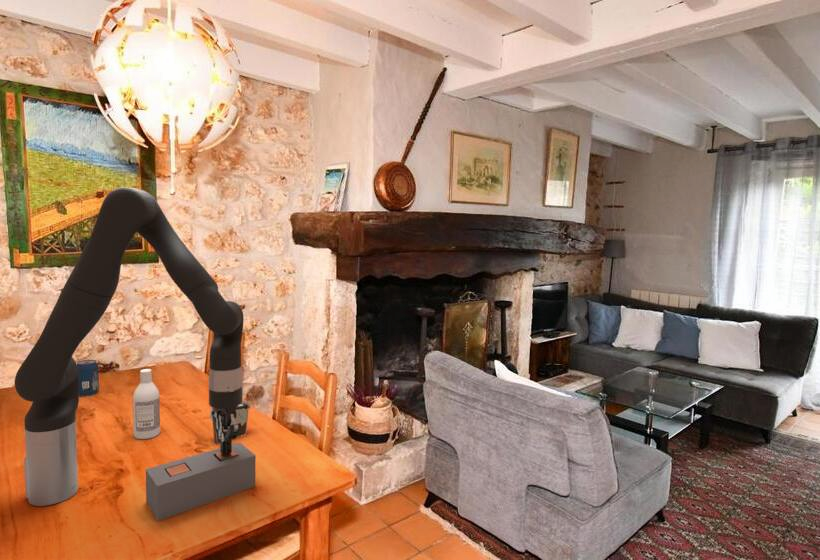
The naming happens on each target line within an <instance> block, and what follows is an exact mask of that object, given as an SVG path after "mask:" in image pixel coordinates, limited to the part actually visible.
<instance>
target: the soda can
mask: <svg viewBox="0 0 820 560" xmlns="http://www.w3.org/2000/svg"><path fill="white" fill-rule="evenodd" d="M76 364H77V366H78V371H79V397H91V396H95V395H96V394H97V393H98V392H99V390H100V382H99V381H100V377H99V374H100V373H99V364H98V362H97V360H96V359H83V360H79V361H77V362H76Z"/></svg>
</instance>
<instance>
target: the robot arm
mask: <svg viewBox="0 0 820 560" xmlns="http://www.w3.org/2000/svg"><path fill="white" fill-rule="evenodd" d="M136 233H137V234H138V235H140V237H142V238H143V239H144V240H145V241H146V243H148V244H149V245H150V246H151V248H153V250H154V251H155V253H156V255H157V256H158V257H159V259H160V261H161V262H162V265H163V267H164V268H165V271H166V272H167V274H168V275H169V277H170V278H171V280H172V281H173V282H174V284H175V286H177V287H178V289H180V291H181V292H182V293H183V294H184V295H185V296H186V298H187V299H188V300H189V301H190V302H191V303H192V305H193V307H194V309H195V311H196V313H197V314H198V316H199V317H200V319H201V321H202V322H203V324H204V325H205V326H206V327H207V328H208V329H209V330H210V331H211V332H213V341H212V344H211V346H210V348H209V373H208V404H209V406H210V407H211V409H212V408H215V409H216V410H213V411H211V410H210V412H211V414H212V418H213V421H212V423H213V422H214V426H215V430H216V433H217V434H219V439H220V444H219V445H220V447H219V448H220V453H221V454H222V455H224V456H225V455H228V454H231V452H232V445H233V443H232V441H233V440H237V436H238V433H239V431H240V429H241V423H238V424H237V422H236V419H237V412H236V407H237V406H238V405H240V404H241V403H242V401H243V369H242V349H241V348H242V338H243V331H244V322H245V321H244V320H245V319H244V312H243V309H242V307H241V305H239V304H238V303H236V302H234V301H232V300H225V298H224V297H223V295H222V294H221V293H220V291H219V286H218V284H217V281H215V279H214V278H213V277H212V276H211V274H210V273H209V272H208V271H207V270H206V269H205V267H203V265H202V264H201V263H200V261H199V260H198V259H197V258H196V257H195V256H194V254H193V253H192V252H191V250H189V248H188V247H187V246H186V244H185V243H184V242H183V241H182V239H181V238H180V237H179V235H178V234H177V232H176V231H175V229H174V228H173V226H172V225H171V223H170V221H169V220H168V218H167V216H166V215H165V213H164V211H163V210H162V209H161V206H160V205H159V203H158V202H157V200H156V198H155V197H154V196H153V195H152V194H150V193H149V192H148V191H145V190H143V189H140V188H134V187H130V186H129V187H128V186H120V187H117V188H115V189H113V190H111V191H110V192H109V193H108V194H107V195H106V196H105V198H104V200H103V201H102V203H101V206H100V209H99V212H98V215H97V217H96V221H95V222H94V226H93V228H92V231H91V234H90V236H89V238H88V240H87V242H86V244H85V247H84V248H83V250H82V251H81V252H80V255H79V257H78V259H77V261H76V263H75V265H74V267H73V269H72V270H71V273H70V274H69V276H68V278H67V279H66V281H65V284H64V285H63V288H62V290H61V292H60V294H59V296H58V298H57V301H56V302H55V305H54V307H53V309H52V311H51V312H50V314H49V317H48V318H47V320H46V323H45V325H44V328H43V330H42V332H41V334H40V336H39V338H38V339H37V341H36V343H35V344H34V345H33V347H32V348H31V350H30V352H29V353H28V354H27V356H26V358H25V359H24V361H23V362H22V363H21V365H20V366H19V368H18V370H17V371H16V374H15V377H14V389H15V391H16V393H17V395H19V397H20V398H22V399H23V400H25V401H27V402H31V406H30V408H29V410H28V411H27V413H26V414H25V416H24V420H23V421H24V423H23V425H24V440H25V457H24V459H23V466H24V482H25V483H24V484H25V485H24V486H25V487H24V488H25V489H24V490H25V499H26V498H27V501H28V503H29V504H30V505H31V506H35V507H44V506H51V505H56V504H59V503H62V502H64V501H67V500H69V499H70V498H72V497H73V496H74V495H76V493H77V492H78V490H79V479H78V477H79V476H78V473H79V472H78V449H77V427H76V426H77V423H76V416H77V415H76V414H77V410H78V407H79V403H80V396H79V371H78V366H77V362H76V360H75V359H74V358H73V355H74V354H75V351H76V350H77V348H78V347H79V346H80V344H81V343H82V341H83V340H84V339H85V338H86V336H88V334H89V333H90V332H91V331H92V330H93V328H94V327H95V326H96V325H97V324H98V322H99V321H101V319H102V317H103V316H104V314H105V312H106V311H107V309H108V307H109V305H110V303H111V301H112V299H113V297H114V295H115V293H116V291H117V288H118V285H119V280H120V276H121V267H122V261H123V257H124V254H125V252H126V250H127V248H128V246H129V245H130V243H131V241H132V240H133V238H134V236H135V235H136Z"/></svg>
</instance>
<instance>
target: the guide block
mask: <svg viewBox="0 0 820 560" xmlns="http://www.w3.org/2000/svg"><path fill="white" fill-rule="evenodd" d="M232 450H233V451H234V452H235V453H236V454H237V457H234V458H231V459H228V460H224V461H221V462H220V461H219V460H218V459H217V458H216V457H215V453H216V452H220V447H219V448H216V449H211V450H209V451H205V452H201V453H198V454H194V455H191V456H188V457H184V458H180V459H176V460H174V461H171V462H167V463H163V464H159V465H157V466H152V467H149V468H146V469H145V495H146V496H145V501H146V502H145V503H146V504H147V506H148V507H149V509H150V511H151V512H152V515H153V516H154V518H155V520H156V521H157V522H160V521H162V520H165V519H167V518H171V517H173V516H177V515H179V514H182V513H185V512H188V511H190V510H194V509H197V508H199V507H201V506H204V505H208V504H210V503H213V502H215V501H218V500H220V499H225V498H227V497H229V496H232V495H235V494H238V493H240V492H243V491H247V490H249V489H252V488H254V487H256V463H257V462H256V460H257V459H256V454H254V452H252V451H251V450H250V449H249V448H248V447H247V446H245V445H244V444H243V443H241V442H237V443H234V444H233V443H232ZM181 464H185V465H186V466H187V467H188V469H189V470H190V471H188V472H185V473H182V474H178V475H175V476H172V477H170V476H169V475H168V473H167V472H166V469H167V468H171V467H174V466H178V465H181Z"/></svg>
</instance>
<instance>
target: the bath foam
mask: <svg viewBox="0 0 820 560" xmlns="http://www.w3.org/2000/svg"><path fill="white" fill-rule="evenodd" d="M139 374H140V379H139V380H140V382H139V384H138V386H136V389H135V390H134V393H133V396H132V416H133V417H132V420H133V421H132V424H133V428H132V429H133V437H134V438H135V439H137V440H147V439H152V438H155V437H157V436H158V435H160V433H161V399H160V398H161V397H160V390H159V389H158V388H157V386H156V384H155V383H154V382H153V378H152V376H153V375H152V374H153V373H152V369H151V368H145V369H141V370H140V371H139Z"/></svg>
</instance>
